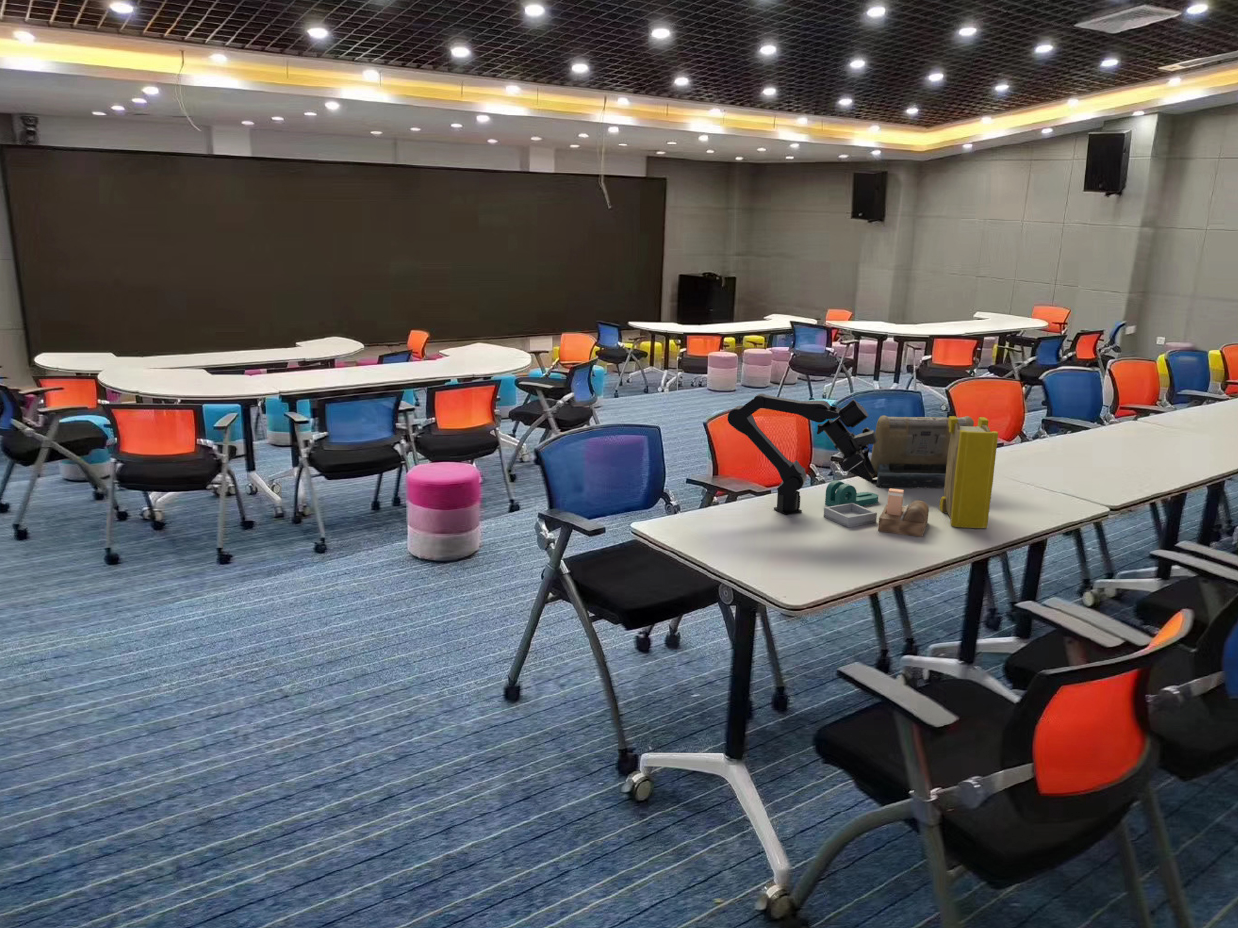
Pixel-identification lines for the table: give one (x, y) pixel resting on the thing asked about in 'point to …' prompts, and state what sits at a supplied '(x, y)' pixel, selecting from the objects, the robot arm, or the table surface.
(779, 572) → the table surface
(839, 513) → the tray
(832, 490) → the bracket
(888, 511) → the peach block
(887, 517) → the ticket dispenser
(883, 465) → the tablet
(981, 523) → the decorative book
